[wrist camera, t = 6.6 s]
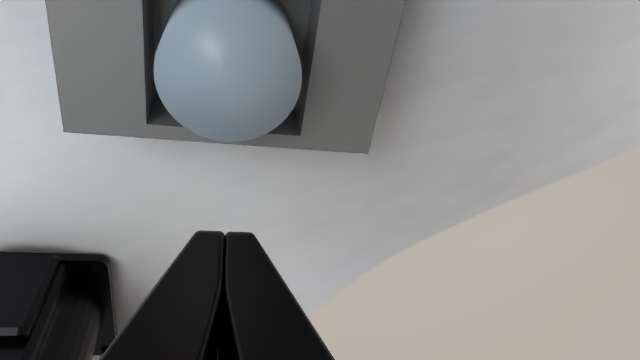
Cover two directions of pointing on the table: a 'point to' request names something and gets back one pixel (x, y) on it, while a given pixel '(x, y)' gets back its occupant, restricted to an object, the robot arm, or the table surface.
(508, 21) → the table surface
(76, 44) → the console
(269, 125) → the blue button
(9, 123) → the table surface
